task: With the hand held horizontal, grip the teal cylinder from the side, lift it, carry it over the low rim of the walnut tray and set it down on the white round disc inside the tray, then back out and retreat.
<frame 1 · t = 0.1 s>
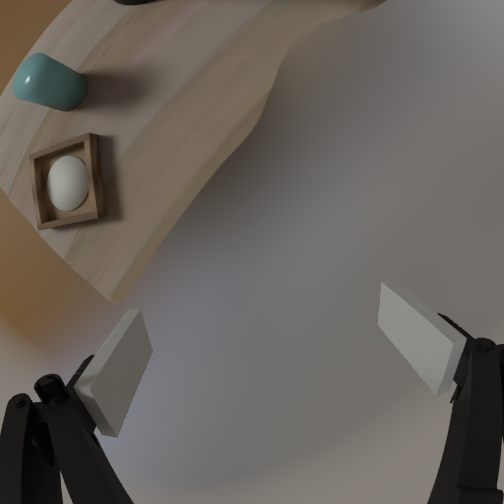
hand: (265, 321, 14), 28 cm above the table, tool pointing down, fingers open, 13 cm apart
walnut tray: (69, 182, 38), on the table
teal cylinder: (70, 92, 34), on the table
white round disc: (66, 183, 37), in the walnut tray, point 1 cm above the table
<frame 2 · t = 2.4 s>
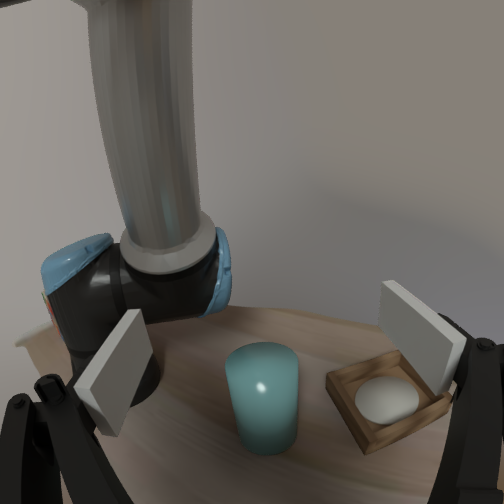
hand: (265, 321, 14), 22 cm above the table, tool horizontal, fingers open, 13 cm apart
walnut tray: (386, 403, 30), on the table
teal cylinder: (268, 433, 29), on the table
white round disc: (387, 399, 30), in the walnut tray, point 1 cm above the table
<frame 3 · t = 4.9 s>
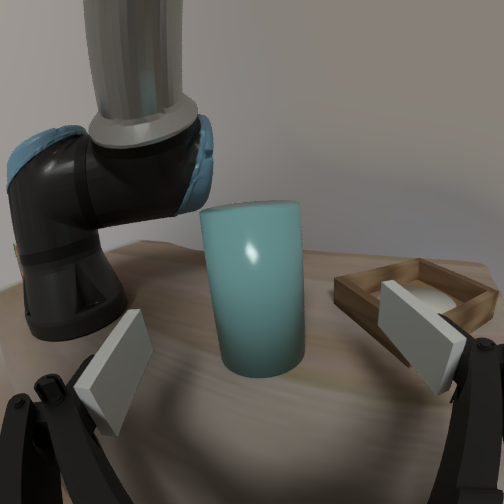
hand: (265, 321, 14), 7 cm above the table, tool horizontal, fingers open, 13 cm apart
walnut tray: (415, 312, 25), on the table
teal cylinder: (262, 351, 23), on the table
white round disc: (416, 305, 25), in the walnut tray, point 1 cm above the table
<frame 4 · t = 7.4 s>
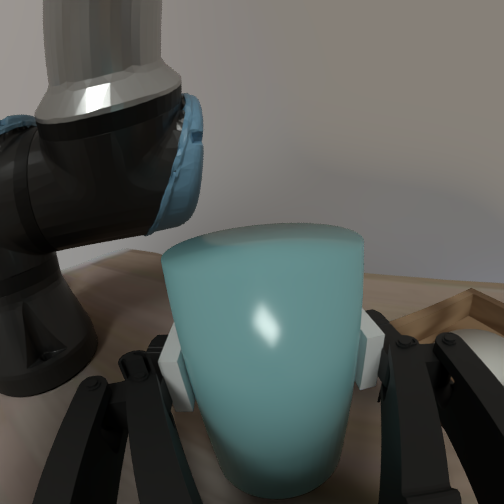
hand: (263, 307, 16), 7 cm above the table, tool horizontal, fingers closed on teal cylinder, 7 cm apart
walnut tray: (475, 368, 15), on the table
teal cylinder: (279, 449, 13), on the table, touching gripper
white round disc: (478, 360, 15), in the walnut tray, point 1 cm above the table
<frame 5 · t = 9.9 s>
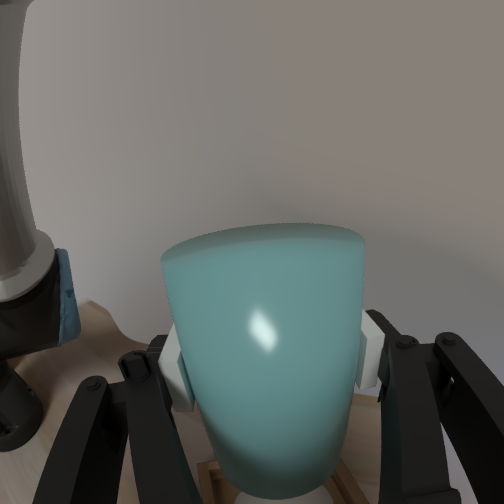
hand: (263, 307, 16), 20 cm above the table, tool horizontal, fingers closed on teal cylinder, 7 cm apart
teal cylinder: (279, 450, 13), point 13 cm above the table, touching gripper
when the fingers open (9 cm above the table, at t = 12.3 s): teal cylinder stays where it is, resting on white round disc.
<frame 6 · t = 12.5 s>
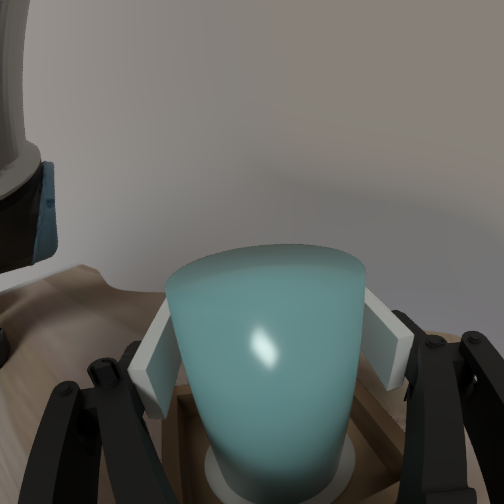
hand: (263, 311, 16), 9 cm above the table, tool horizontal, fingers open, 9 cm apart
walnut tray: (280, 465, 14), on the table
teal cylinder: (279, 458, 13), point 1 cm above the table, touching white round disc
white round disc: (279, 459, 13), in the walnut tray, point 1 cm above the table
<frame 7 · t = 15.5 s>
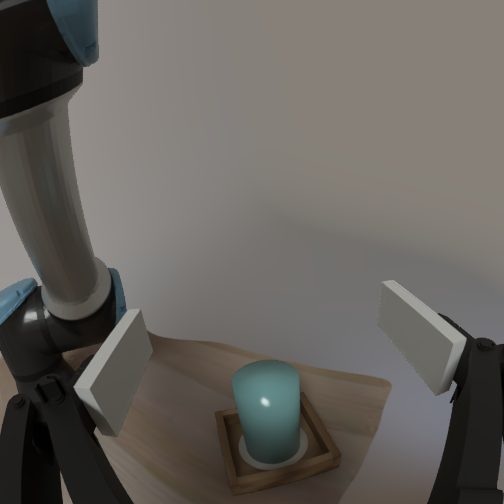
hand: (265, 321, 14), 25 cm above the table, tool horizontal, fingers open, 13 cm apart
walnut tray: (273, 447, 30), on the table
teal cylinder: (273, 443, 30), point 1 cm above the table, touching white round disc
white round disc: (273, 444, 30), in the walnut tray, point 1 cm above the table
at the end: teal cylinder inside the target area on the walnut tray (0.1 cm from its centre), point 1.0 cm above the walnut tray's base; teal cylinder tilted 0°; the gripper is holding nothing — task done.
